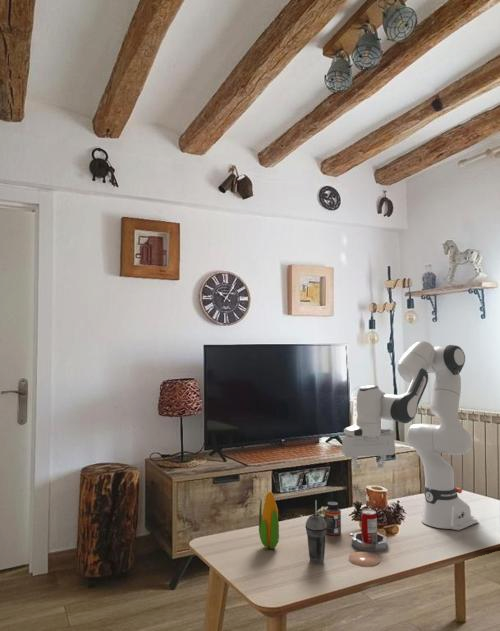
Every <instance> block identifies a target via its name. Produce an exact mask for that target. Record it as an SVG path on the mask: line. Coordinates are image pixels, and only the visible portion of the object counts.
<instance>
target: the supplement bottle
mask: <svg viewBox="0 0 500 631" xmlns="http://www.w3.org/2000/svg"><path fill="white" fill-rule="evenodd" d="M327 506H328V508H326V510H325V521H326V524H327V532H326V535H329V536H339V535H340V534H342V516H341V515H342V514H341V513H342V511H341V509H340V508H339V503H338V502H336V501H328V502H327Z"/></svg>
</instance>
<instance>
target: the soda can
mask: <svg viewBox="0 0 500 631" xmlns="http://www.w3.org/2000/svg"><path fill="white" fill-rule="evenodd" d="M376 512H377V511H375V510H373V509H367V508H366V509H363V510H361V513H360V514H361V515H360V520H361V521H360V524H361V529H360V530H361V531H360V532H362V540H361V541H362V542H367V543H377V542H378V541H377V532H378V516H377V513H376Z"/></svg>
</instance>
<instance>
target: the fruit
mask: <svg viewBox="0 0 500 631" xmlns="http://www.w3.org/2000/svg"><path fill="white" fill-rule="evenodd" d="M326 508H328V505H326V506H321V508H319V509H317V514H319V515H321V516H322V517H323V518H324V519H325V510H326Z"/></svg>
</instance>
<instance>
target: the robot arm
mask: <svg viewBox="0 0 500 631" xmlns="http://www.w3.org/2000/svg"><path fill="white" fill-rule="evenodd" d="M465 362H466V355H465V352H464V350H463V349H462V347H460V346H458V345H455V344H454V345H453V344H449V345H436V346H433V345H432V343H430V342H428V341H426V340H420V341H416V342H415V343H414V344H412V345H411V346H410V347H409V348H408V350H407V351H405V352H404V354H403V355H402V356H401V358H400V359H399V361H398V363H397V372H398V374H399V376H400V377H401V378H402V379H403V381H405V382H407V383H409V386H408V388H407V390H406V392H405V393H403V394H391V393H386V392H383V391H382V390H380V387H379V386H378V385H375V384H367V385H362V386H360V387H359V388H358V391H357V394H356V405H355V406H356V408H355V409H356V413H357V418H356V423H354V424H352V425H350V426H347V427H345V428H343V433H344V436H343V437H342V442H341V453H342V455H343V456H345V457H347V458H349V457H350V458H351V461H352V462H353V467H354V469H355V470H360V469H361V464H360V463H359V462H358V461H357V460H358V457H373V456H374V457H375V456H376V457H377V456H379V457H380V460H379V461H377V463H376V464H377V468H379V469H380V468H381V469H382V468H384V463H385V462H386V459H387V456H393V455H395V453H396V446H395V445H396V444H395V432H394V431H393V430H391V428H387V429H384V428H383V429H382V420H386V421H392V422H398V423H402V424H408V423H410V422H412V421H413V420H414V419H415V418H416V415H417V412H418V407H419V404H420V402H421V399H422V398H423V395H424V392H425V390H426V388H427V385H428V382H429V374H431V373H432V374H435V379H434V383H433V386H432V390H431V391H432V392H431V396H430V402H429V410H430V412H431V413H432V414H433V415H434V416H435V417H437V418H438V419H440V420H439V421H440V422H439V424H433V423H424V422H421V423H414V424H411V425H410V427H408V429H407V433H406V440H407V442H408V444H409V445H410V447H412V448H413V449H414V451H416V453H417V454H418V456H419V458H420V459H421V462H422V465H423V472H424V485H423V494H424V498H423V509H422V513H421V522H422V523H424V524H425V525H427V526H430V527H433V528H437V529H448V530H455V531H460V530H462V529H465V528H467V527H469V526H471V525H474V524H476V523H478V519H477V518H476V517H475V516H473V515H472V513H471V507H470V506H469V504H467V502H465V501H464V500H463V499H462V498H460V497H459V495H458V494H462V493H463V489H462V488H461V487H457V486H456V487H455V471H454V469H453V467H452V465H451V464H450V463H449V462H448V461H446V460H444V459H443V457H442V455H441V454H445V455H452V456H455V455H459V456H460V455H466V454H468V453H469V451H471V448H472V445H473V440H472V439H473V438H472V436H471V434H470V432H468V430H467V429H466V428H465V427H464V426H463V425H462V423H461V421H460V417H459V406H460V399H461V390H462V389H461V388H462V380H461V378H462V377H461V375H460V373H461V372H462V369H463V368H464V365H465Z"/></svg>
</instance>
